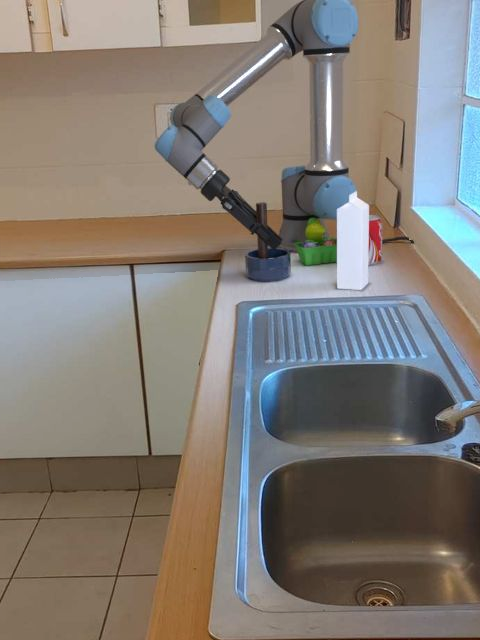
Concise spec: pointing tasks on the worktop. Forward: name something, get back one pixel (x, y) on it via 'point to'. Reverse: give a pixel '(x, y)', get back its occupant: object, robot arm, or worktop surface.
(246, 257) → the bowl
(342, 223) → the milk
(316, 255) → the fruit basket
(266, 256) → the brown post with base
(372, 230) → the soda can
